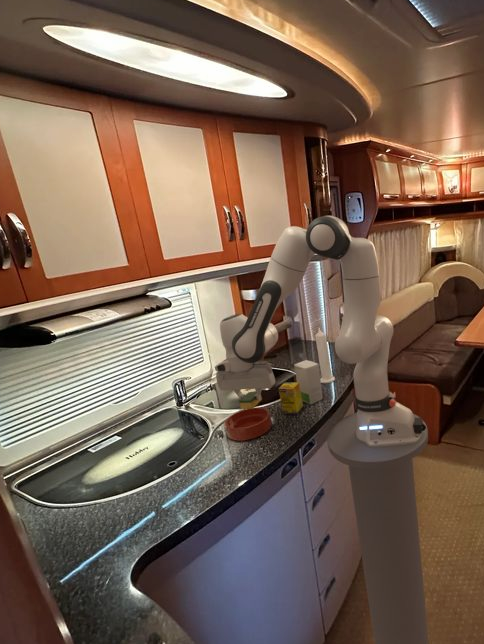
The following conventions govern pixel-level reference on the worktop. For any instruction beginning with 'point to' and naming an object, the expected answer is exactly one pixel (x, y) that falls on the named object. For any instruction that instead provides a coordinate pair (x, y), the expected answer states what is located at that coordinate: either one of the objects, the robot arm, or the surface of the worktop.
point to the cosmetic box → (309, 381)
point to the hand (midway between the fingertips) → (250, 399)
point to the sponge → (249, 401)
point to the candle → (323, 357)
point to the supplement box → (291, 398)
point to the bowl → (248, 424)
